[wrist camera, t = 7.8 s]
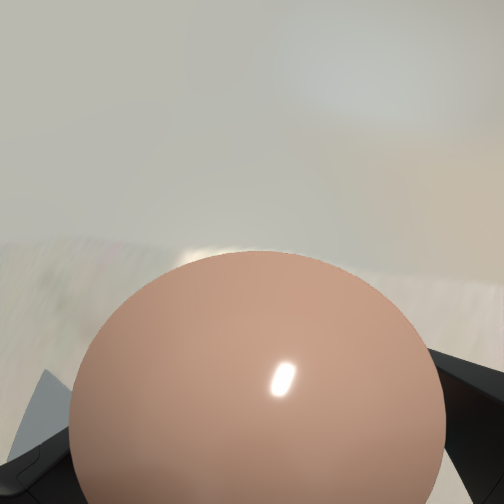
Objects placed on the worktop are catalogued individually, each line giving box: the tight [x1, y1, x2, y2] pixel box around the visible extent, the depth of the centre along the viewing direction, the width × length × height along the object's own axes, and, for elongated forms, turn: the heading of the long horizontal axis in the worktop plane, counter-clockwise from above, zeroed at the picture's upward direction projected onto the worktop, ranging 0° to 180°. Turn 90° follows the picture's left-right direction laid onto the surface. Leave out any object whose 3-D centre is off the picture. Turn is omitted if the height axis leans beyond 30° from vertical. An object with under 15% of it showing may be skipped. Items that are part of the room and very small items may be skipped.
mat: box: [7, 369, 72, 462], centre depth 15 cm, size 10×8×1 cm
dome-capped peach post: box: [69, 251, 446, 504], centre depth 9 cm, size 5×5×14 cm
